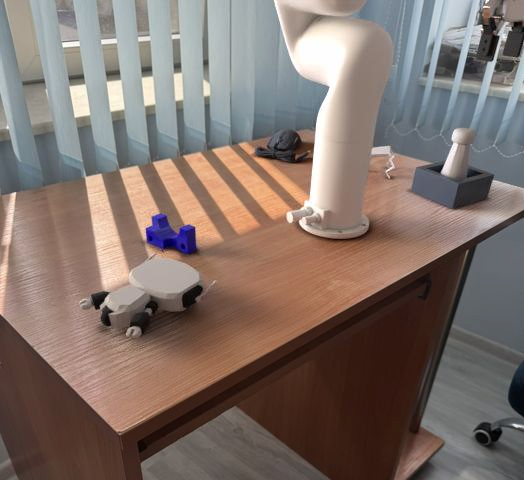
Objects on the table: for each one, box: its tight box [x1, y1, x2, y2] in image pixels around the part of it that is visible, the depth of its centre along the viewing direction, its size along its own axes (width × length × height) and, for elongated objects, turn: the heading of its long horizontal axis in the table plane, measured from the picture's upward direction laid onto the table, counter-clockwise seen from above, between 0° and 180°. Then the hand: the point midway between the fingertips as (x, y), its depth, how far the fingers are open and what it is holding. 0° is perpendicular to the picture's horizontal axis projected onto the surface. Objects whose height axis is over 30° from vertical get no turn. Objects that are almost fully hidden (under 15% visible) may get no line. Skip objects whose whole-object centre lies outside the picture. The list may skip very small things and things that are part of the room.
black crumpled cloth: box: [253, 128, 312, 163], centre depth 127 cm, size 12×17×4 cm
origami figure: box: [371, 145, 396, 179], centre depth 117 cm, size 12×8×5 cm
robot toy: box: [78, 251, 218, 339], centre depth 69 cm, size 12×4×15 cm
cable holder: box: [144, 212, 197, 255], centre depth 84 cm, size 8×4×4 cm, turn 51°
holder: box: [410, 160, 495, 210], centre depth 107 cm, size 11×11×5 cm
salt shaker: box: [441, 127, 476, 180], centre depth 104 cm, size 6×6×13 cm
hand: (497, 58), depth 95 cm, fingers open, 9 cm apart
